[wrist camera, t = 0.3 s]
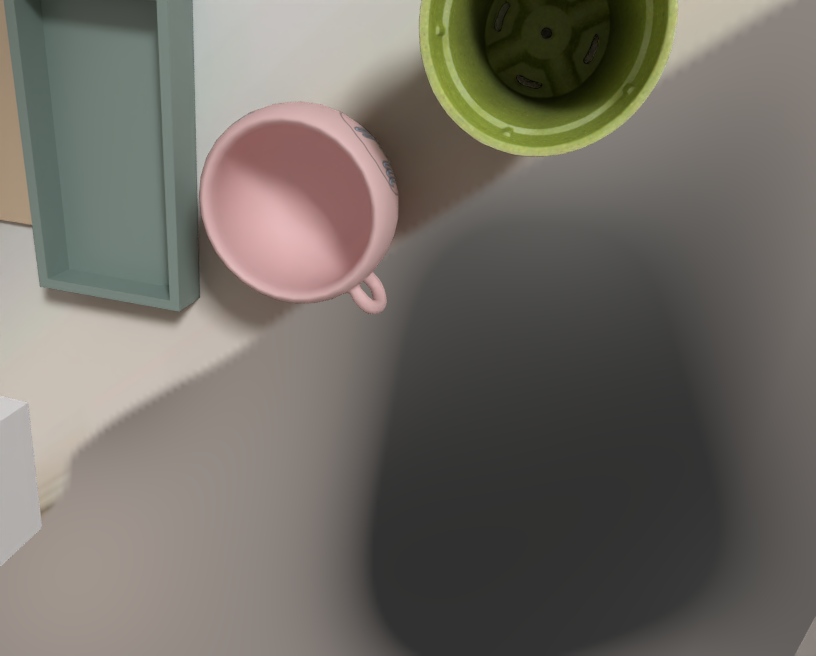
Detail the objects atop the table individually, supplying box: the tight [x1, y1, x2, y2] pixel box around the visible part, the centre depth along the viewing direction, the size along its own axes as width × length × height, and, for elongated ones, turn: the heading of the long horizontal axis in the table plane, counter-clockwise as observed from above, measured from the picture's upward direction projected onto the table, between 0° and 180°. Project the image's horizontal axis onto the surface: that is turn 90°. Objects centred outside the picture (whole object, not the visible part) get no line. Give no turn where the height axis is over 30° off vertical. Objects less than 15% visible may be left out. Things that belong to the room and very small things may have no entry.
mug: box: [199, 102, 398, 314], centre depth 35 cm, size 12×10×6 cm
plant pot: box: [419, 0, 678, 157], centre depth 28 cm, size 9×9×9 cm
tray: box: [4, 0, 200, 312], centre depth 38 cm, size 17×9×2 cm, turn 174°
